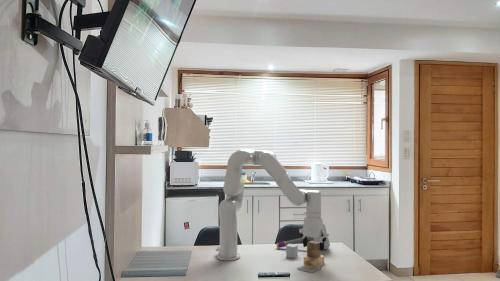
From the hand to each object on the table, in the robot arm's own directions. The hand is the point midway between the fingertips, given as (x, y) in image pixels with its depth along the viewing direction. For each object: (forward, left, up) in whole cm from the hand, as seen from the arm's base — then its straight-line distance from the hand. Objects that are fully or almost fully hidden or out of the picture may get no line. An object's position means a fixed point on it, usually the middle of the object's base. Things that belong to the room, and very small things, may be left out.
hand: (313, 248), depth 185 cm
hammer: (-20, +20, -8) cm, 29 cm away
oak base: (0, 0, -8) cm, 8 cm away
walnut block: (0, 0, -4) cm, 4 cm away
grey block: (-16, +3, -8) cm, 18 cm away
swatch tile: (+3, -9, -8) cm, 12 cm away
